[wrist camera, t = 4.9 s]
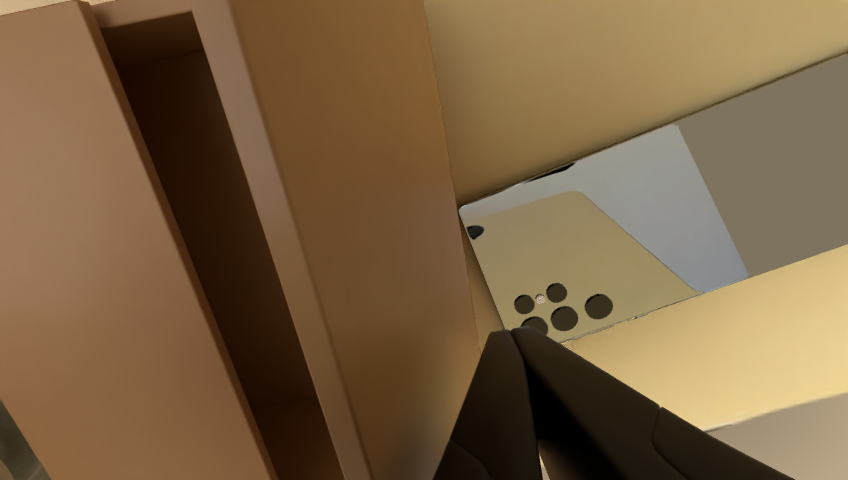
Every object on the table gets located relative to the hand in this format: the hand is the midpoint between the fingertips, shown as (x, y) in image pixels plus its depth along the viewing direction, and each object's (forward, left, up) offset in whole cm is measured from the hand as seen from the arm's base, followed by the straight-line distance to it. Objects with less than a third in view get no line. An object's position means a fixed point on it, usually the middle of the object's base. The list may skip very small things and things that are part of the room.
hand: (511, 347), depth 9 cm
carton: (+7, 0, -10) cm, 12 cm away
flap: (+2, 0, +1) cm, 2 cm away
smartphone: (-8, +2, -10) cm, 13 cm away
